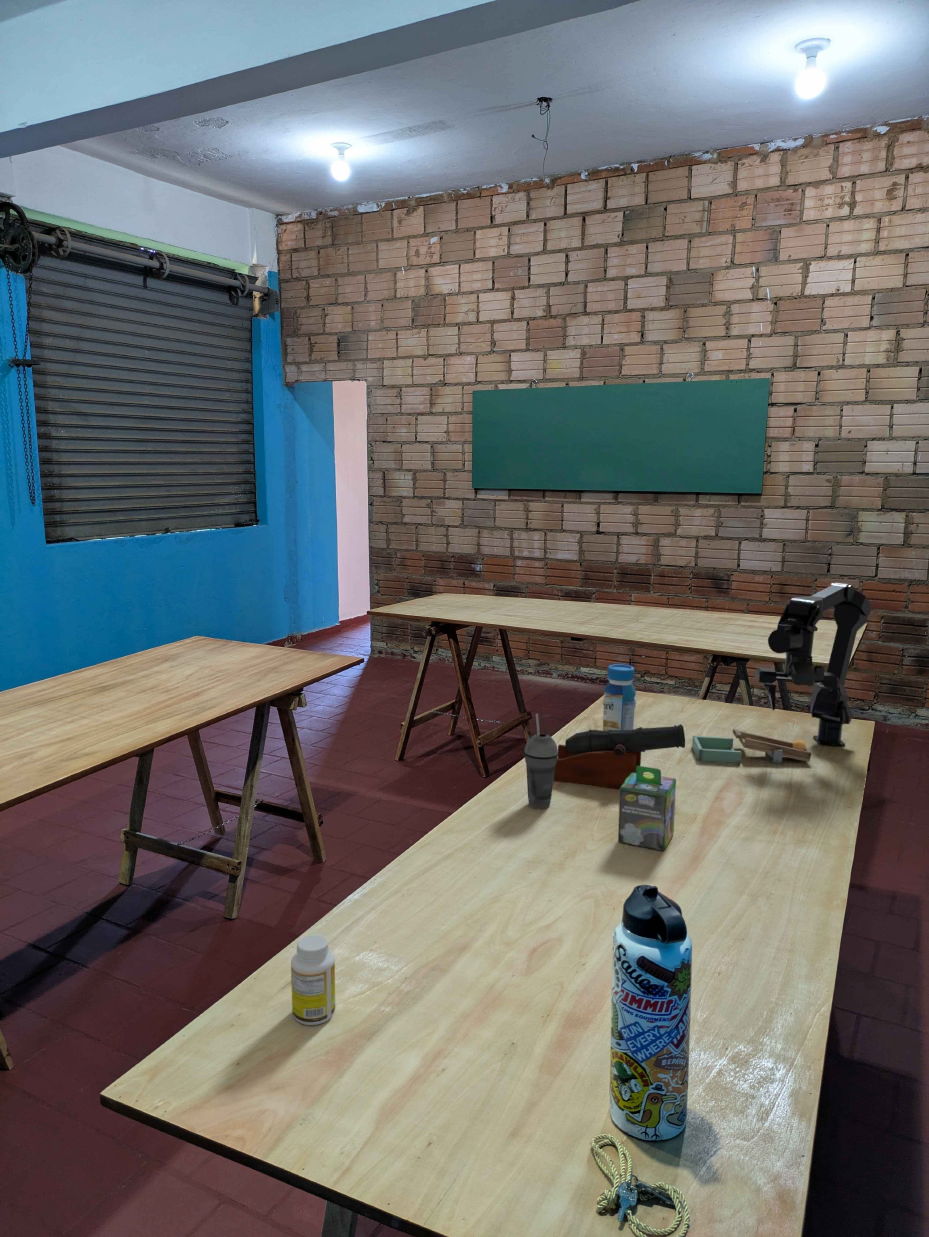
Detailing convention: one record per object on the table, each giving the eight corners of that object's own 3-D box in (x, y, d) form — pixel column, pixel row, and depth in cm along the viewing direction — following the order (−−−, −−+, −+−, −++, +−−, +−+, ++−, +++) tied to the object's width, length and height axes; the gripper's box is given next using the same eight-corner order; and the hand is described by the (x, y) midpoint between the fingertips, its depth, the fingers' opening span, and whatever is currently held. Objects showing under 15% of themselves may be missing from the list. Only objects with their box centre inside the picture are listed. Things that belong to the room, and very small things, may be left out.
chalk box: (674, 833, 167) (678, 762, 164) (664, 852, 159) (669, 777, 156) (627, 824, 171) (631, 754, 168) (615, 842, 162) (620, 769, 160)
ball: (790, 749, 212) (792, 737, 211) (802, 751, 212) (805, 739, 211) (793, 753, 209) (795, 741, 209) (805, 755, 209) (808, 743, 208)
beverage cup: (554, 813, 176) (558, 720, 172) (519, 810, 177) (522, 717, 173) (558, 800, 183) (561, 710, 179) (524, 796, 184) (527, 708, 180)
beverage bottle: (636, 746, 218) (640, 671, 215) (603, 746, 218) (607, 670, 215) (630, 736, 227) (634, 663, 223) (598, 735, 227) (602, 662, 223)
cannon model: (679, 800, 184) (684, 734, 181) (546, 782, 193) (549, 718, 190) (684, 780, 196) (688, 717, 193) (558, 763, 205) (561, 704, 202)
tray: (692, 747, 219) (692, 735, 218) (731, 749, 218) (732, 738, 217) (698, 761, 208) (699, 749, 208) (740, 763, 207) (741, 752, 207)
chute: (732, 732, 221) (734, 723, 220) (796, 746, 219) (798, 737, 219) (741, 747, 209) (744, 738, 208) (809, 761, 208) (811, 753, 207)
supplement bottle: (316, 995, 114) (315, 925, 113) (344, 1012, 111) (343, 941, 109) (283, 1014, 110) (281, 942, 108) (310, 1033, 107) (309, 959, 105)
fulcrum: (765, 752, 216) (766, 739, 215) (773, 753, 215) (774, 740, 215) (772, 763, 208) (774, 750, 207) (781, 764, 207) (782, 750, 207)
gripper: (767, 653, 201) (760, 717, 203) (849, 659, 198) (841, 723, 201) (757, 644, 212) (751, 705, 214) (835, 650, 209) (828, 711, 212)
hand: (792, 711), depth 210 cm, fingers open, 9 cm apart
